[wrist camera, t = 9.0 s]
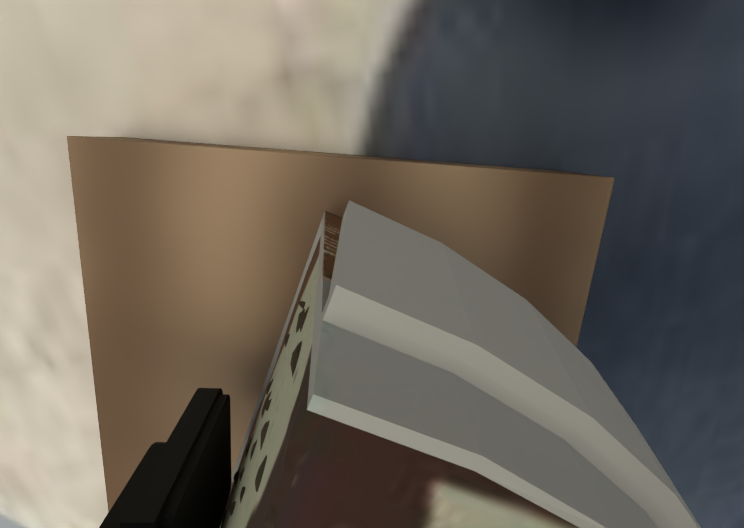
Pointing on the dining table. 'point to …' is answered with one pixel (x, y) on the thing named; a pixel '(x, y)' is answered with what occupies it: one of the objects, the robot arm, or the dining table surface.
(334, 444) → the food container
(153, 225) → the walnut base
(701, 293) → the dining table surface
